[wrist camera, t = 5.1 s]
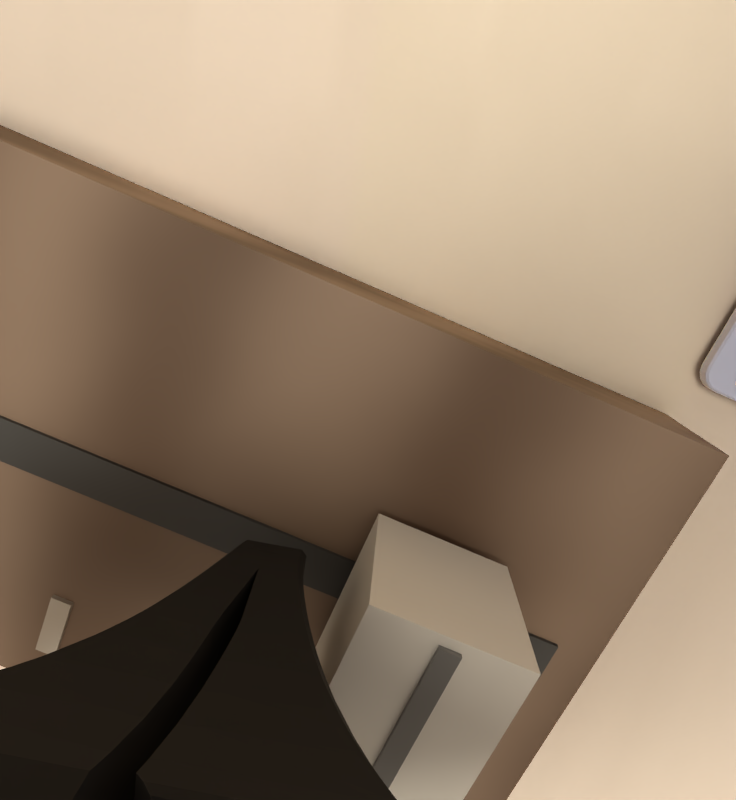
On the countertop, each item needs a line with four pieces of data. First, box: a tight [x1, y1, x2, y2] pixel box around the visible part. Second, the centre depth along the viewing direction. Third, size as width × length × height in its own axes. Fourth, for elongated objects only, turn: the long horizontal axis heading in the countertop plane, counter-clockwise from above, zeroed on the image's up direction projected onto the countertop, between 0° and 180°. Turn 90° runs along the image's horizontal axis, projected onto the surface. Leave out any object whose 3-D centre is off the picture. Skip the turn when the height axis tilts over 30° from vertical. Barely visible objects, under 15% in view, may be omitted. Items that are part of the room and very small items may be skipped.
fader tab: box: [315, 514, 541, 800], centre depth 11 cm, size 3×4×3 cm
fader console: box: [0, 125, 729, 800], centre depth 14 cm, size 22×12×3 cm, turn 67°
